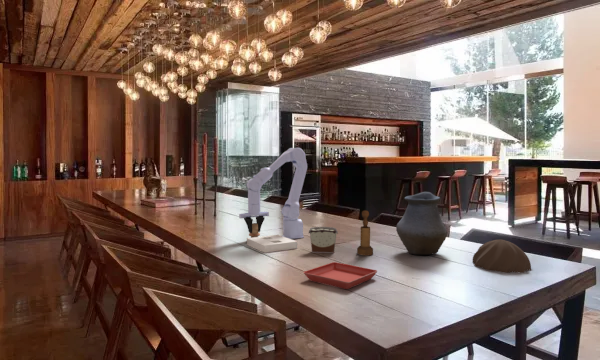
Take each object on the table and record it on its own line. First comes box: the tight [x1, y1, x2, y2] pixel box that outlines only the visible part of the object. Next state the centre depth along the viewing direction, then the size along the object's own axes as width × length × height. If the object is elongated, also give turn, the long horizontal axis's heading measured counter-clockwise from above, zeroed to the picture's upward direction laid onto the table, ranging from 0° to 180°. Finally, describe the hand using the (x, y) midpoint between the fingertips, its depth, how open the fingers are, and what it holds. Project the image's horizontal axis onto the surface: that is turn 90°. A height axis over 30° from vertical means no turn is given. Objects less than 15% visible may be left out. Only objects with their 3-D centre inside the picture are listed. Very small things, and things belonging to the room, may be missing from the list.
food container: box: [308, 226, 339, 254], centre depth 182 cm, size 12×6×10 cm, turn 84°
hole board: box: [246, 234, 298, 253], centre depth 191 cm, size 16×18×3 cm
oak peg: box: [248, 222, 261, 238], centre depth 204 cm, size 5×5×8 cm
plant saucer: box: [303, 261, 378, 290], centre depth 141 cm, size 18×18×3 cm
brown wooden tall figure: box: [356, 209, 374, 256], centre depth 176 cm, size 7×6×18 cm
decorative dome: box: [472, 239, 532, 274], centre depth 158 cm, size 19×20×10 cm
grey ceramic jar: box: [395, 191, 448, 256], centre depth 178 cm, size 21×22×25 cm
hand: (254, 232), depth 204 cm, fingers closed on oak peg, 4 cm apart
